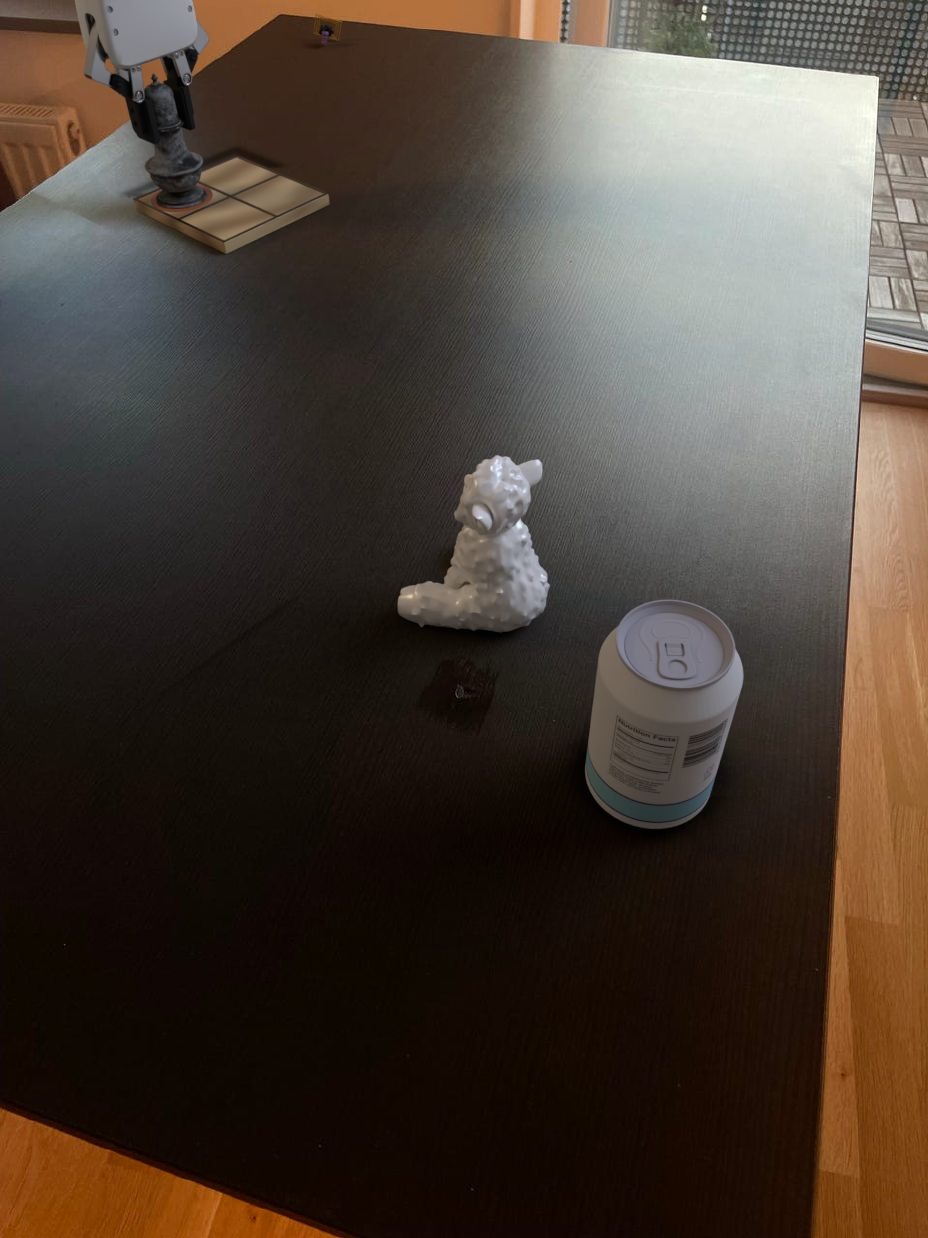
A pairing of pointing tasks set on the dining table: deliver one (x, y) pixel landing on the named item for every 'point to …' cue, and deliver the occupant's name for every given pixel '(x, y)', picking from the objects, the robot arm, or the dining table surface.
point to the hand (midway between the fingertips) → (166, 131)
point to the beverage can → (661, 713)
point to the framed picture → (326, 29)
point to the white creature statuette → (487, 557)
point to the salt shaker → (172, 154)
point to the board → (238, 204)
